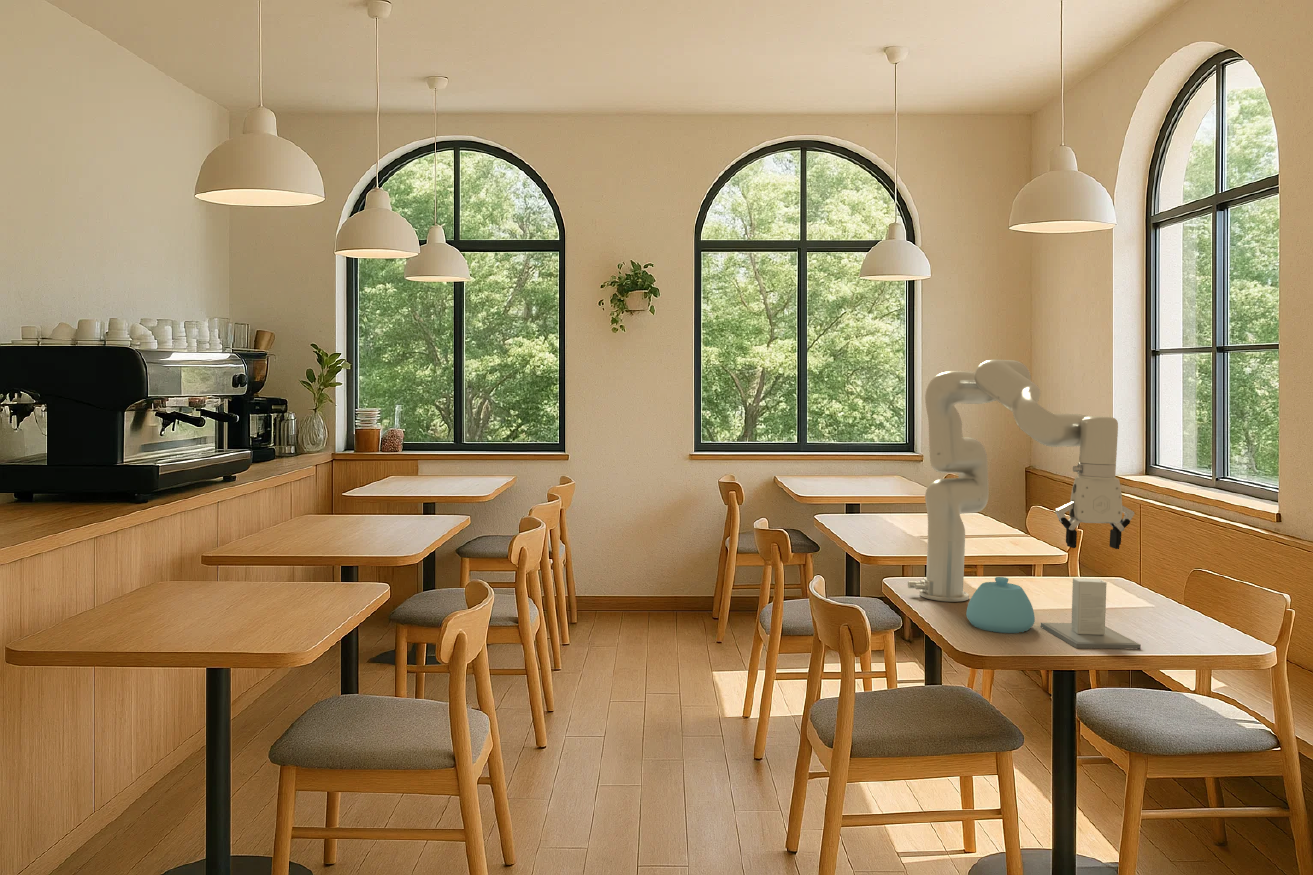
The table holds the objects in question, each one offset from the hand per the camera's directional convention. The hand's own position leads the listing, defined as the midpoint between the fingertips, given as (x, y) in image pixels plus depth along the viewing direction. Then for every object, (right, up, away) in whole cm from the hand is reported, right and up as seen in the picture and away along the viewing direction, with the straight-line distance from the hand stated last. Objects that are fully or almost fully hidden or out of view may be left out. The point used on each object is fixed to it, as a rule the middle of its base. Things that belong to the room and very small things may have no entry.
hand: (1092, 547), depth 210 cm
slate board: (-1, -20, +1) cm, 20 cm away
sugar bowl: (-17, -20, +9) cm, 28 cm away
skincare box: (-1, -20, +1) cm, 20 cm away
